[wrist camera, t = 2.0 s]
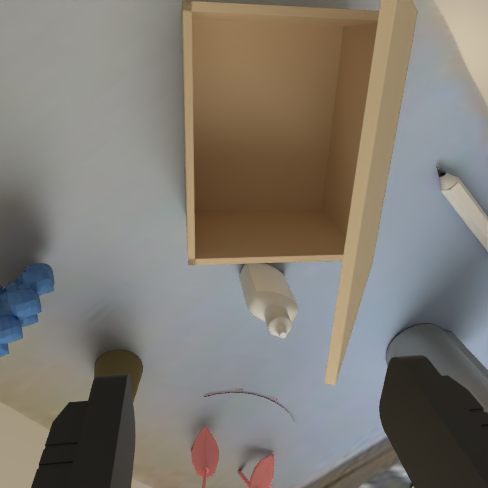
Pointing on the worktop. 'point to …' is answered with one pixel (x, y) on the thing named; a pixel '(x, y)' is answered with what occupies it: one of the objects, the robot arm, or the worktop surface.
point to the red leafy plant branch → (208, 456)
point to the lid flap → (372, 167)
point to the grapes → (22, 302)
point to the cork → (120, 366)
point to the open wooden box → (272, 129)
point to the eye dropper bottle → (269, 297)
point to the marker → (465, 205)
